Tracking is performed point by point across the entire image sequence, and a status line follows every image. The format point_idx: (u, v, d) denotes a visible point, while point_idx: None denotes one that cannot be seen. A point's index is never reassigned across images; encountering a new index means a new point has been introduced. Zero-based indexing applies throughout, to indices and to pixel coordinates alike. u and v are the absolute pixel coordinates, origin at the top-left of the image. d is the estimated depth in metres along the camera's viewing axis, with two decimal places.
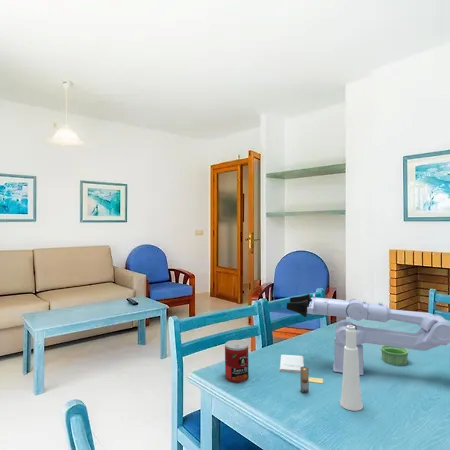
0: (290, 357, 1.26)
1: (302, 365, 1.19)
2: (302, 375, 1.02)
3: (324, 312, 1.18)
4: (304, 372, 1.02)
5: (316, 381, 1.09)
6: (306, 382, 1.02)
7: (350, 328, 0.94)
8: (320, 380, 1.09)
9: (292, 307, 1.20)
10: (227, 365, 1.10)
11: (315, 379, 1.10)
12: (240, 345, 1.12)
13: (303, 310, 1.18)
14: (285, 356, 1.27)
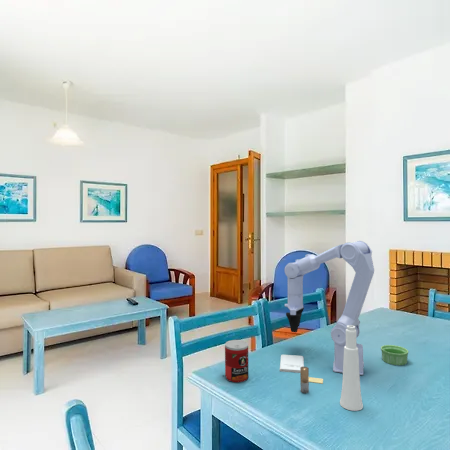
0: (290, 357, 1.26)
1: (302, 365, 1.19)
2: (302, 375, 1.02)
3: (298, 297, 1.29)
4: (304, 372, 1.02)
5: (316, 381, 1.09)
6: (306, 382, 1.02)
7: (350, 328, 0.94)
8: (320, 380, 1.09)
9: (294, 327, 1.28)
10: (227, 365, 1.10)
11: (315, 379, 1.10)
12: (240, 345, 1.12)
13: (296, 317, 1.28)
14: (285, 356, 1.27)
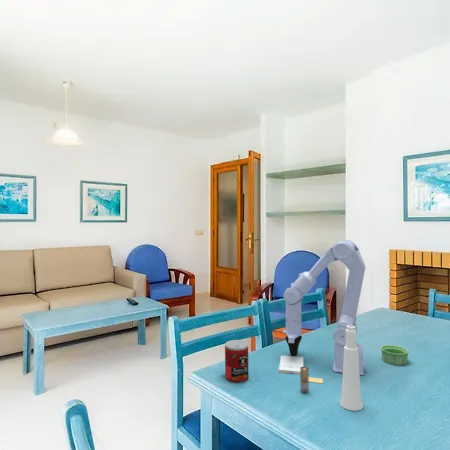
0: (290, 358, 1.25)
1: (302, 366, 1.18)
2: (302, 375, 1.02)
3: (296, 324, 1.25)
4: (304, 372, 1.02)
5: (316, 381, 1.09)
6: (306, 382, 1.02)
7: (350, 328, 0.94)
8: (320, 380, 1.09)
9: (294, 351, 1.27)
10: (227, 365, 1.10)
11: (315, 379, 1.10)
12: (240, 345, 1.12)
13: (295, 341, 1.26)
14: (285, 357, 1.26)
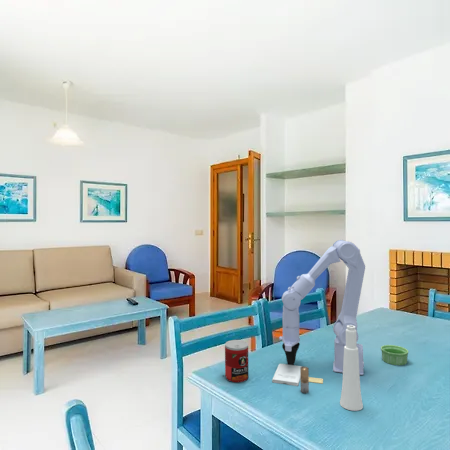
0: (288, 367, 1.17)
1: (298, 376, 1.10)
2: (302, 375, 1.02)
3: (294, 330, 1.17)
4: (304, 372, 1.02)
5: (316, 381, 1.09)
6: (306, 382, 1.02)
7: (350, 328, 0.94)
8: (320, 380, 1.09)
9: (291, 360, 1.19)
10: (227, 365, 1.10)
11: (315, 379, 1.10)
12: (240, 345, 1.12)
13: (293, 349, 1.19)
14: (283, 365, 1.19)
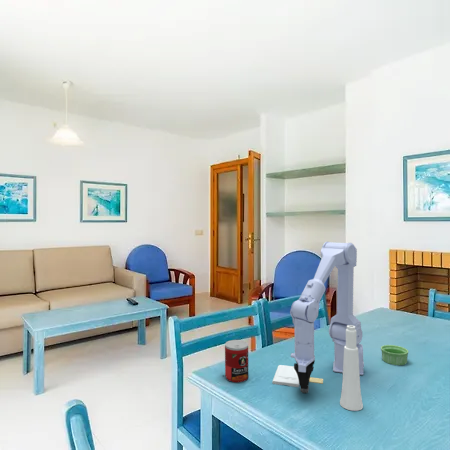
0: (287, 368, 1.17)
1: None
2: None
3: (308, 347, 1.00)
4: None
5: (316, 381, 1.09)
6: None
7: (350, 328, 0.94)
8: (320, 380, 1.09)
9: (304, 382, 1.01)
10: (227, 365, 1.10)
11: (315, 379, 1.10)
12: (240, 345, 1.12)
13: (306, 370, 1.01)
14: (282, 367, 1.18)
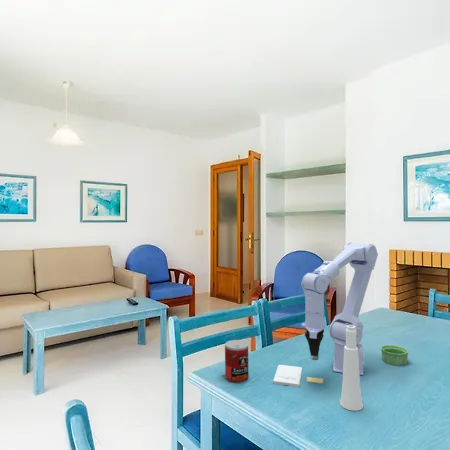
0: (287, 368, 1.17)
1: (298, 378, 1.10)
2: None
3: (318, 316, 1.07)
4: None
5: (316, 381, 1.09)
6: None
7: (350, 328, 0.94)
8: (320, 380, 1.09)
9: (315, 350, 1.08)
10: (227, 365, 1.10)
11: (315, 379, 1.10)
12: (240, 345, 1.12)
13: (317, 338, 1.07)
14: (282, 367, 1.18)
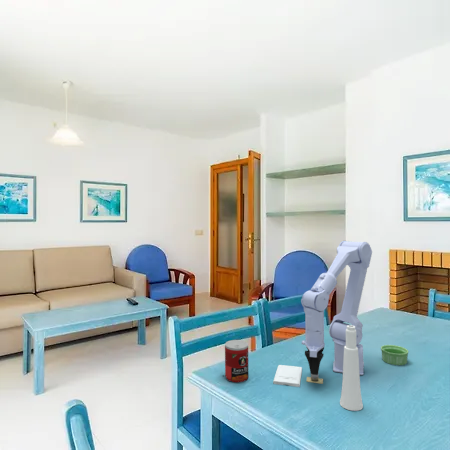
0: (287, 368, 1.17)
1: (298, 377, 1.10)
2: None
3: (318, 334, 1.07)
4: None
5: (316, 381, 1.09)
6: None
7: (350, 328, 0.94)
8: (320, 380, 1.09)
9: (315, 368, 1.07)
10: (227, 365, 1.10)
11: None
12: (240, 345, 1.12)
13: (317, 356, 1.07)
14: (282, 367, 1.18)
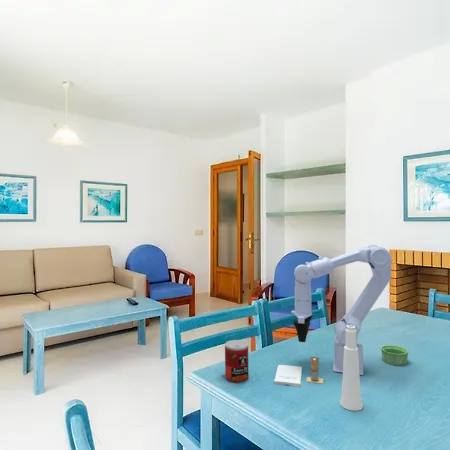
0: (287, 368, 1.17)
1: (299, 377, 1.10)
2: (312, 364, 1.09)
3: (306, 304, 1.18)
4: (315, 361, 1.09)
5: None
6: (316, 371, 1.09)
7: (350, 328, 0.94)
8: (320, 380, 1.09)
9: (302, 336, 1.16)
10: (227, 365, 1.10)
11: None
12: (240, 345, 1.12)
13: (304, 325, 1.16)
14: (282, 367, 1.18)
